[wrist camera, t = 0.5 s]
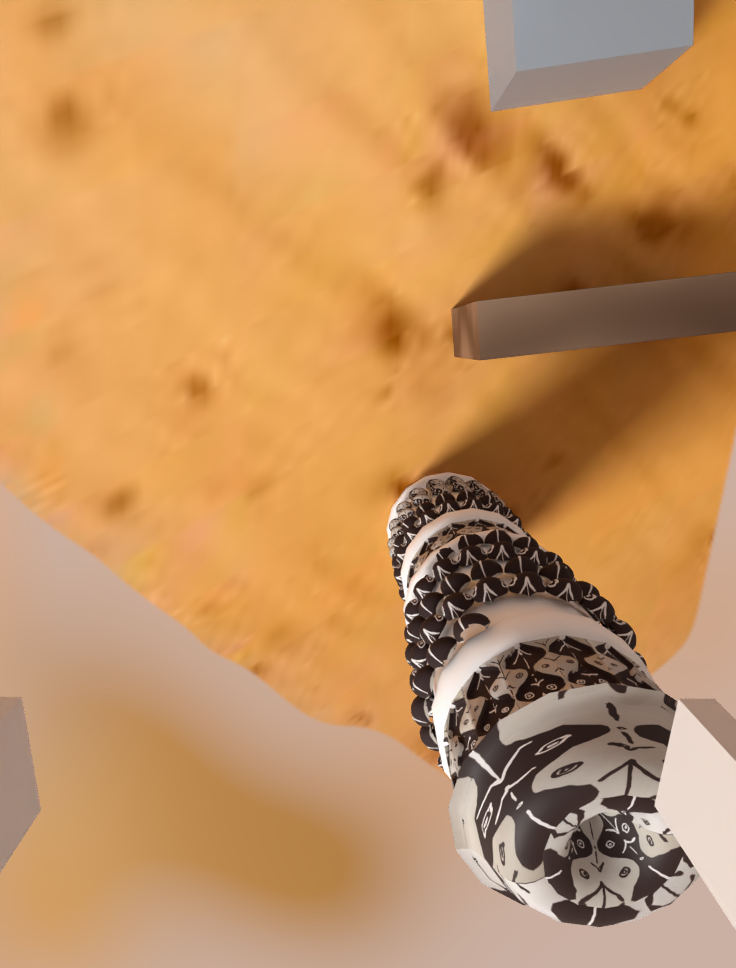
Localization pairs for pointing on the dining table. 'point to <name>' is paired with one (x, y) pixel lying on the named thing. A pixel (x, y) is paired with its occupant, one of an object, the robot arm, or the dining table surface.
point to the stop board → (595, 317)
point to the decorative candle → (533, 712)
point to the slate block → (580, 47)
